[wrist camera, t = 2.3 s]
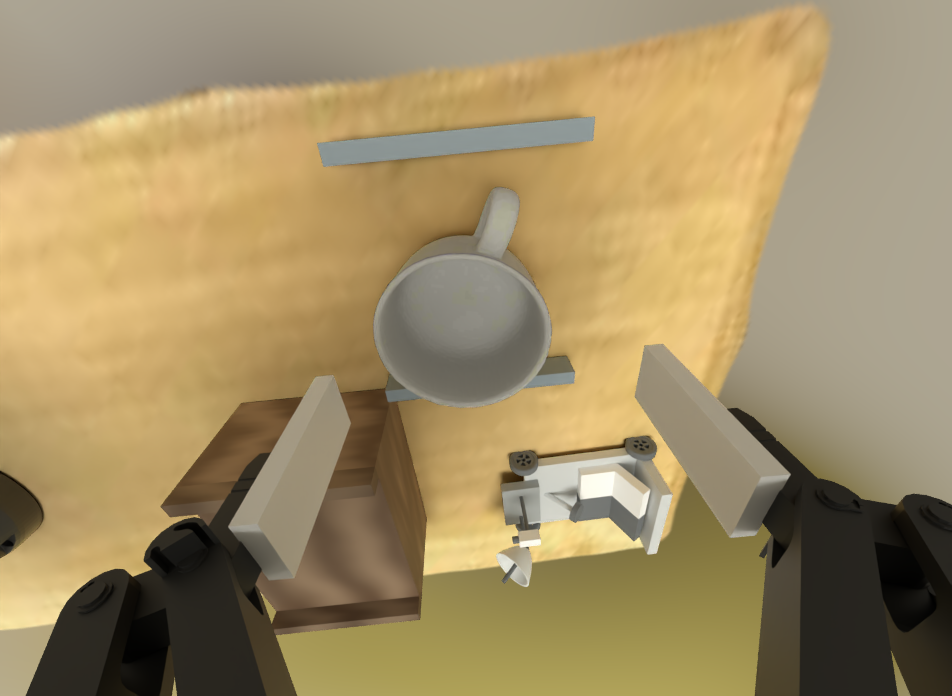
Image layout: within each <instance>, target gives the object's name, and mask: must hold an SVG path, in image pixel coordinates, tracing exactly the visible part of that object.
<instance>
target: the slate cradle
mask: <svg viewBox="0 0 952 696" xmlns="http://www.w3.org/2000/svg"><path fill="white" fill-rule="evenodd" d="M594 123H595V117H586V118H575V119H565V120H554V121H544V122H534V123H523V124H513V125H502V126H492V127H482V128H471V129H461V130H450V131H440V132H429V133H419V134H409V135H398V136H388V137H377V138H367V139H357V140H346V141H336V142H325V143H317V145H318V148H319V152H320V156H321V159H322V163H323V166H324V167H326V166H337V165H347V164H357V163H368V162H378V161H388V160H399V159H409V158H419V157H430V156H440V155H450V154H461V153H471V152H482V151H492V150H502V149H513V148H523V147H533V146H544V145H554V144H564V143H575V142H585V141H593V136H594ZM574 378H575V371H574V369H573V367H572V365H571V363H570V361H569V359H568V357H567V356H561V357H551V358H546V361H545V363H544V364H543V366H542V368H541V369H540V371H539V372H538V373H537V375H536V376H535V377H534V378H533V380H532V381H531V382H529V383H528V384H527V385H526V386H525V387H524V388H532V387H542V386H552V385H562V384H572V383H574ZM385 393H386V396H387V400H388V402H395V401H405V400H415V399H423V398H421V397H419V396H417V395H416V394H414V393H413V392H411V391H409V390H408V389H406V388H405V387H404V386H402V385H401V384H400V383H399V382H398V381H396V380H395V379H394V377H393V376H392V375H391V374H389V378H388V382H387V386H386V390H385Z"/></svg>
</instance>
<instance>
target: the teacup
mask: <svg viewBox="0 0 952 696" xmlns="http://www.w3.org/2000/svg"><path fill="white" fill-rule="evenodd" d="M519 207H520V200H519V196H518V195H517V193H516V192H514V191H513V190H511V189H508V188H503V187H495V188H494V189H492V191H491V192H490V194H489V196H488V198H487V201H486V203H485V206H484V208H483V212H482V214H481V217H480V220H479V223H478V226H477V228H476V230H475V233H474V235H472V236H469V235H458V236H450V237H445V238H441V239H438V240H436V241H433V242H431V243H429V244H427V245H425V246H424V247H422V248H421V249H419V250H418V251H417V252H416V253H414V254H413V255H412V256H411V257H410V258H409V259H408V261H407V262H406V263H405V264H404V265H403V267H402V268H401V269H400V271H399V272H398V273H397V275H396V276H395V278H394V279H393V280H392V281H391V282H390V283H389V284H388V286H387V288H386V289H385V291H384V292H383V294H382V296H381V298H380V300H379V302H378V305H377V308H376V311H375V315H374V323H373V331H374V340H375V345H376V348H377V351H378V354H379V356H380V358H381V360H382V362H383V364H384V366H385V367H386V369H387V370H388V371H389V373H390V374H391V375H392V376H393V377H394V379H395V380H396V381H398V382H399V383H400V384H401V385H402V386H404V387H405V388H406V389H408V390H409V391H411V392H413V393H414V394H416V395H417V396H419V397H421V398H423V399H426V400H428V401H431V402H433V403H436V404H438V405H446V406H450V407H459V408H466V407H481V406H485V405H490V404H493V403H497V402H499V401H501V400H504V399H506V398H508V397H510V396H512V395H514V394H516V393H517V392H519V391H520V390H521V389H523V388H524V387H525V386H526V385H527V384H528V383H529V382H531V381H532V380H533V378H534V377H535V376H536V375H537V373H538V372H539V371H540V369H541V368H542V366H543V364H544V363H545V361H546V357H547V355H548V350H549V348H550V343H551V335H552V325H551V320H550V316H549V312H548V309H547V306H546V304H545V301H544V299H543V297H542V296H541V294H540V292H539V291H538V289H537V288H536V286H535V284H534V282H533V280H532V278H531V276H530V274H529V273H528V271H527V269H526V268H525V267H524V265H523V264H522V263H521V261H520V260H519V259H518V258H517V257H516V256H515V255H514V254H513V253H511V252H510V251H509V250H507V249H506V248H507V246H508V244H509V241H510V239H511V237H512V234H513V231H514V228H515V225H516V222H517V217H518V213H519Z"/></svg>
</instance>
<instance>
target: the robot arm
mask: <svg viewBox="0 0 952 696" xmlns="http://www.w3.org/2000/svg"><path fill="white" fill-rule="evenodd" d="M635 398H636V399H637V401H638V402H639V404H640V405H641V407H642V408H643V410H644V411H645V413H646V414H647V416H648V417H649V419H650V420H651V422H652V423H653V425H654V426H655V428H656V429H657V431H658V432H659V433H660V435H661V436H662V438H663V439H664V441H665V442H666V444H667V445H668V447H669V448H670V450H671V451H672V453H673V454H674V456H675V457H676V459H677V460H678V462H679V463H680V465H681V466H682V467H683V469H684V470H685V472H686V473H687V475H688V476H689V478H690V479H691V481H692V482H693V484H694V485H695V487H696V488H697V490H698V491H699V493H700V494H701V496H702V497H703V498H704V500H705V501H706V503H707V504H708V506H709V507H710V509H711V510H712V512H713V513H714V515H715V516H716V518H717V519H718V521H719V522H720V524H721V525H722V527H723V528H724V530H725V531H726V533H727V534H728V536H729V537H730V538H732V537H743V536H754V535H756V534H757V532H758V530H759V528H760V527H761V525H762V523H763V524H764V525H765V527H766V528H767V529H768V530H769V532H770V533H771V534H772V535H771V536H770V538H769V540H768V541H767V543H766V545H765V546H764V548H763V549H762V551H761V553H760V555H759V556H760V557H762V558H764V557H765V555H766V554H767V560H766V571H765V583H764V595H763V606H762V607H763V608H762V618H761V629H760V641H759V652H758V664H757V676H756V687H755V696H898V693H897V687H896V681H895V674H894V667H893V661H892V654H891V651H892V653H893V655H894V658H895V660H896V662H897V665H898V667H899V669H900V672H901V674H902V676H903V679H904V681H905V683H906V686H907V688H908V690H909V693H910V695H911V696H952V505H951V504H949V503H946V502H945V501H942V500H940V499H937V498H934V497H930V496H927V495H920V494H911V495H906V496H905V497H904V498H903V499H902V500H901V501H900V502H899V504H898V505H893V504H887V503H881V502H875V501H870V500H864V499H861V498H860V497H859V496H858V495H856V494H855V493H853V492H852V491H850V490H849V489H847V488H846V487H844V486H842V485H839V484H837V483H835V482H832V481H828V480H824V479H818V478H817V477H815V476H814V475H813V474H812V473H811V472H810V471H809V470H808V469H807V468H806V467H805V466H804V465H803V464H802V463H801V462H800V461H799V460H798V459H797V458H796V457H795V456H793V455H792V454H791V453H790V452H789V451H788V450H787V449H786V448H785V447H784V446H783V445H782V444H781V443H780V442H779V441H776V438H775V437H774V436H773V435H772V434H770V433H769V432H768V431H766V429H765V428H764V427H763V426H762V425H761V424H760V423H759V422H758V421H757V420H756V419H755V418H754V417H752V416H750V415H749V414H747V413H745V412H743V411H742V410H740V409H738V408H731V409H726V408H725V407H724V406H723V405H722V404H721V403H720V402H719V401H718V400H717V399H716V398H715V397H714V396H713V394H712V393H711V392H710V391H709V390H708V389H707V388H706V387H705V386H704V385H703V384H702V383H701V382H700V381H699V380H698V379H697V378H696V377H695V376H694V375H693V374H692V373H691V372H690V371H689V370H688V369H687V368H686V367H685V366H684V365H683V364H682V363H681V362H680V361H679V360H678V359H677V358H676V357H675V356H674V355H673V354H672V353H671V352H670V351H669V350H668V349H667V348H666V347H665V346H664V345H663V344H656V345H645V346H644V352H643V357H642V362H641V367H640V372H639V377H638V382H637V387H636V392H635ZM350 425H351V422H350V419H349V417H348V414H347V411H346V408H345V405H344V403H343V400H342V397H341V394H340V392H339V389H338V386H337V383H336V380H335V378H334V375H327V376H317V377H315V378H314V380H313V382H312V383H311V385H310V387H309V388H308V390H307V392H306V394H305V395H304V397H303V399H302V400H301V402H300V404H299V406H298V407H297V409H296V411H295V413H294V414H293V416H292V418H291V419H290V421H289V423H288V425H287V426H286V428H285V430H284V431H283V433H282V435H281V437H280V438H279V440H278V442H277V443H276V445H275V447H274V449H273V450H272V452H270V453H260V454H259V455H258V456H257V457H255V458H254V459H253V460H252V461H251V462H250V463H249V464H248V465H247V466H246V467H245V469H244V471H243V472H242V474H241V475H240V477H239V478H238V482H236V483H235V485H234V486H233V488H232V489H231V493H229V494H228V496H227V497H226V499H225V501H224V502H223V504H222V505H221V507H220V508H219V510H218V512H217V513H216V515H215V516H214V518H213V519H212V521H211V523H210V524H209V526H208V525H207V524H206V523H205V522H204V520H203V519H200V518H196V517H194V518H188V519H184V520H182V521H179V522H177V523H175V524H173V525H171V526H170V527H169V528H167V529H166V530H164V531H163V532H161V533H160V534H159V535H158V536H157V537H156V538H155V539H154V540H153V541H152V543H151V544H150V546H149V547H148V549H147V550H146V552H145V556H144V562H145V563H146V564H147V565H148V566H149V567H151V568H152V570H150V571H147V572H144V573H142V574H139V575H136V576H134V577H132V576H131V575H130V574H129V573H128V572H127V571H125V570H124V569H114V570H110V571H107V572H104V573H102V574H100V575H99V576H97V577H95V578H93V579H91V580H90V581H89V582H87V583H86V584H85V585H83V586H82V587H81V588H80V589H78V590H77V591H76V592H75V594H74V595H73V596H72V597H71V598H70V599H69V600H68V601H67V603H66V604H65V606H64V607H63V609H62V611H61V612H60V615H59V617H58V619H57V622H56V624H55V627H54V629H53V632H52V634H51V636H50V639H49V641H48V643H47V646H46V648H45V651H44V653H43V655H42V658H41V660H40V663H39V665H38V667H37V670H36V672H35V675H34V677H33V680H32V682H31V684H30V687H29V689H28V691H27V694H26V696H172V690H173V684H174V677H175V682H176V690H177V696H297V694H296V691H295V689H294V686H293V683H292V680H291V677H290V674H289V672H288V669H287V666H286V663H285V660H284V658H283V655H282V652H281V649H280V646H279V643H278V641H277V638H276V635H275V632H274V629H273V627H272V624H271V621H270V618H269V615H268V613H267V610H266V607H265V604H264V601H263V598H262V596H261V593H260V590H259V588H258V587H257V586H256V582H257V579H258V577H259V575H260V573H261V570H262V572H263V573H264V574H265V576H266V577H267V578H268V580H279V579H290V578H295V575H296V572H297V570H298V567H299V564H300V562H301V559H302V556H303V553H304V551H305V548H306V545H307V542H308V540H309V537H310V534H311V531H312V529H313V526H314V523H315V520H316V518H317V515H318V512H319V509H320V507H321V504H322V501H323V499H324V496H325V493H326V490H327V488H328V485H329V482H330V479H331V477H332V474H333V471H334V468H335V466H336V463H337V460H338V457H339V455H340V452H341V449H342V446H343V444H344V441H345V438H346V436H347V433H348V430H349V427H350ZM41 522H42V512H41V509H40V507H39V505H38V504H37V502H36V501H35V500H34V498H33V497H32V496H31V495H30V494H29V493H28V492H27V491H26V490H25V489H23V488H22V487H21V486H20V485H18V484H17V483H15V482H14V481H12V480H11V479H9V478H8V477H6V476H4V475H2V474H1V473H0V558H2V557H3V556H5V555H7V554H8V553H10V552H11V551H13V550H14V549H16V548H17V547H18V546H19V545H21V544H22V543H23V542H24V541H25V540H26V539H27V538H28V537H29V536H30V535H31V534H32V533H33V532H34V531H35V530H36V529H37V528H38V527H39V526H40V524H41Z"/></svg>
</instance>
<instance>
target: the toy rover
mask: <svg viewBox="0 0 952 696" xmlns="http://www.w3.org/2000/svg"><path fill="white" fill-rule="evenodd" d="M656 451H657V446H656V444H655V442H654V441H653V440H652V439H651V438H649V437H647V436H640V437H636V438H635V437H631V438H627V439H626V442H625V448H619V449H611V450H604V451H596V452H588V453H580V454H572V455H565V456H557V457H549V458H541V459H538V458H537V456H536V454H535V453H534V452H532V451H530V450H529V451H523V452H514V453H512V454H511V456H510V459H509V463H510V468H511V470H512V471H513V472H514V473H515V474H517V475H520V476H523V480H524V481H520V482H512V483H504V484H501V490H502V499H503V507H504V515H505V522H506V525H512V524H516V528H517V530H518V536H515V537H512V539H513V544H516V543H519V544H520V546H514V547H511V548H508V549H505V550H503V551H501V552H499V553H498V554H497V555H496V557H497V560H498V562H499V564H500V566H501V567H502V569H503V570H504V571H505V572H506V573H507V574H506V575H505V577H504V578H503V580H502V582H503V583H506V581H507V580H508V579H509V577H511V578H512V579H513V580H514V581H516V582H517V583H518V584H520V585H522V586H524V587H527V586H529V581H530V575H531V567H532V559H531V554H530V551H529V547H528V546H536V545H541V539H540V534H539V529H540V523H543V522H551V521H559V520H567V519H570V520H572V521H573V522H575V523H576V522H577V521H584V520H592V519H600V518H608V517H609V518H610V519H611V520H612V521H613V522H614V523H615V524H616V525H617V526H618V527H619V528H620V529H622V530H623V531H624V532H625V533H626V534H627V535H628V536H629V537H630V538H631V539H632V540H633V541H635V540H636V539H637V538H638V537H639V538H640V540H641V542H642V544H643V546H644V548H645V551H646V553H647V554H654V553H657V550H658V546H659V543H660V539H661V535H662V532H663V528H664V524H665V521H666V517H667V513H668V510H669V506H670V503H671V499H672V495H673V494H672V492H671V490H670V489H669V487H668V486H667V484H666V482H665V481H664V479H663V478H662V476H661V474H660V473H659V471H658V469H657V468H656V466H655V465H654V463H653V461H652V460H651V459H653V458H654V457H655V455H656ZM532 524H533V525H532Z"/></svg>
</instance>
